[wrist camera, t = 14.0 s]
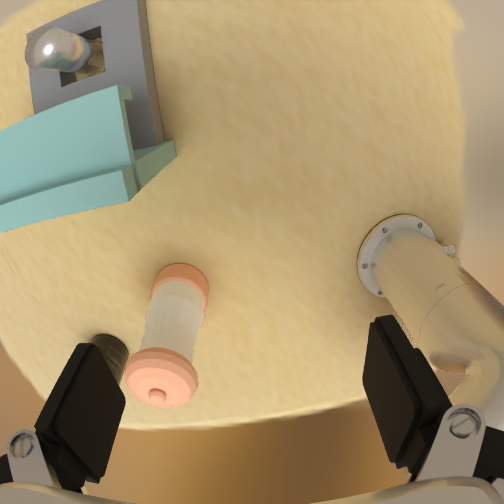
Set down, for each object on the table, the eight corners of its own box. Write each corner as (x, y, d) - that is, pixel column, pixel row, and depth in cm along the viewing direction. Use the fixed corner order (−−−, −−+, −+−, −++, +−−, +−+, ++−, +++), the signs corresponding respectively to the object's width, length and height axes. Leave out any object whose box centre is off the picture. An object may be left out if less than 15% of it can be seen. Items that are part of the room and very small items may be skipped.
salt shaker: (162, 312, 44) (134, 423, 27) (148, 266, 41) (104, 374, 23) (213, 306, 44) (205, 422, 27) (202, 259, 41) (185, 371, 23)
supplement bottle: (85, 332, 45) (58, 386, 34) (123, 333, 45) (101, 391, 35) (97, 363, 48) (76, 416, 37) (133, 365, 48) (117, 422, 38)
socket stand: (153, -3, 26) (96, -71, 10) (176, 156, 35) (128, 201, 19) (37, 40, 26) (-60, 26, 10) (59, 184, 35) (-30, 241, 19)
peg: (108, 39, 28) (60, 18, 17) (112, 69, 30) (62, 58, 19) (79, 50, 28) (23, 37, 17) (82, 79, 30) (26, 75, 19)
